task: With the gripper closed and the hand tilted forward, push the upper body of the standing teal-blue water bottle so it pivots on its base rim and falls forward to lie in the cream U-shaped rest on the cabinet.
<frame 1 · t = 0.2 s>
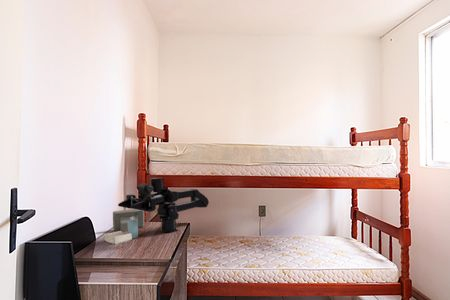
hand: (124, 206, 135), 16 cm above the cabinet, tool horizontal, fingers open, 9 cm apart
digital clock: (129, 229, 164), on the cabinet
u rest: (118, 240, 140), on the cabinet
bottle: (133, 237, 146), on the cabinet
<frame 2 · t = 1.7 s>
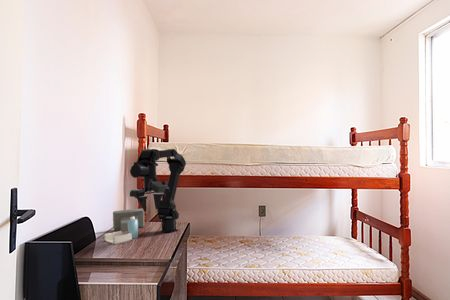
hand: (151, 210, 141), 13 cm above the cabinet, tool pointing down, fingers open, 6 cm apart
nothing on the cabinet moved.
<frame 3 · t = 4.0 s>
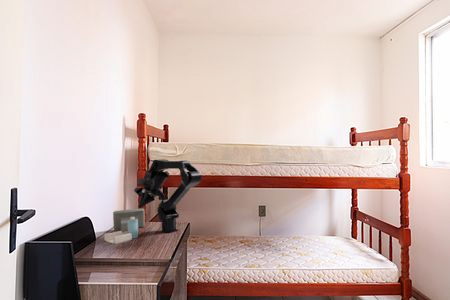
hand: (139, 207, 149), 14 cm above the cabinet, tool tilted 45°, fingers closed
nothing on the cabinet moved.
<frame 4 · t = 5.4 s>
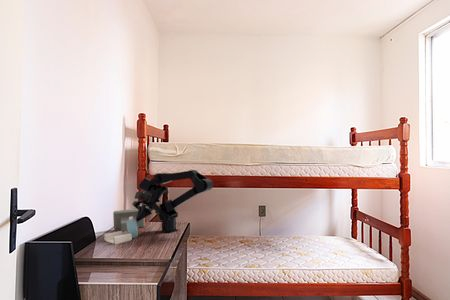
hand: (136, 221, 148), 7 cm above the cabinet, tool tilted 45°, fingers closed
nothing on the cabinet moved.
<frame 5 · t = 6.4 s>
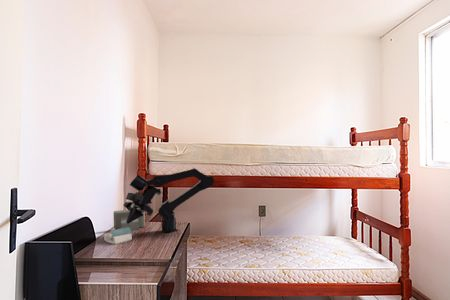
hand: (127, 223, 144), 7 cm above the cabinet, tool tilted 45°, fingers closed
bottle: (128, 232, 144), point 3 cm above the cabinet, tilted 90°, touching u rest
everything else where it was.
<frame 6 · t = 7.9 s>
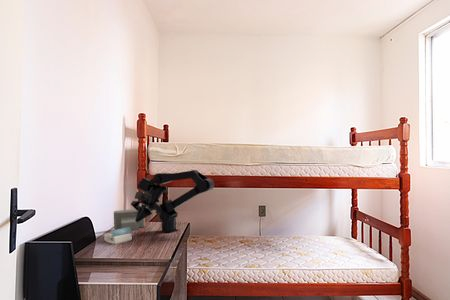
hand: (136, 221, 146), 7 cm above the cabinet, tool tilted 45°, fingers closed
nothing on the cabinet moved.
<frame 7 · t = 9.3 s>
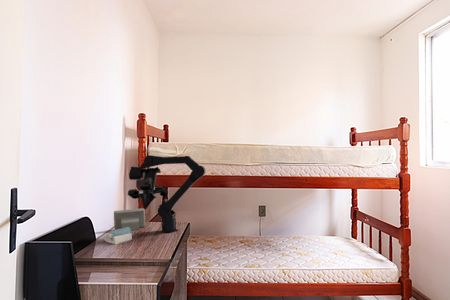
hand: (144, 209, 146), 13 cm above the cabinet, tool tilted 30°, fingers closed
nothing on the cabinet moved.
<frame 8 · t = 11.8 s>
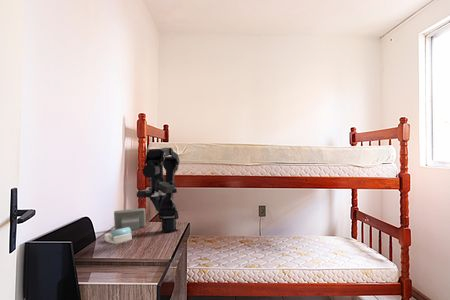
hand: (158, 211, 138), 13 cm above the cabinet, tool pointing down, fingers closed
nothing on the cabinet moved.
at the end: bottle tilted 90°; bottle inside the target area (2.9 cm from its centre), point 2.8 cm above the cabinet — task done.
